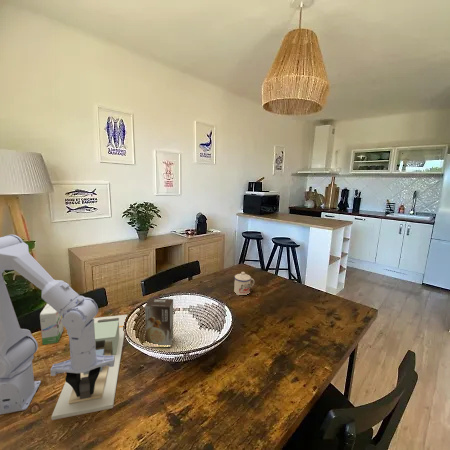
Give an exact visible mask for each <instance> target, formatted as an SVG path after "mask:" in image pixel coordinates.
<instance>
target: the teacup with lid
mask: <svg viewBox="0 0 450 450" xmlns="http://www.w3.org/2000/svg"><path fill="white" fill-rule="evenodd" d="M254 284H255V280H254V278H252V276H250V274H248V273H246V272H245V271H241V273H237V274H235V275H234V287H233V288H234V289H233V292H235V293H236V294H235V293H234V294H235V295H237V296H239V295H247V294H249V293H250V294H251V288H253V286H254ZM250 294H249V295H250ZM247 296H248V295H247Z"/></svg>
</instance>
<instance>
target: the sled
mask: <svg viewBox="0 0 450 450" xmlns="http://www.w3.org/2000/svg"><path fill="white" fill-rule="evenodd" d="M95 347H96V350H100V349H104V355H105V356H111V353H112V349H113V348H112V342H107V343H105V340H102V341H96V344H95ZM108 367H109V366H103V369H102V372H99V375H98V378H97V380H96V382H95V389H94V393H93V394H91V395H90V383H89V379H88V374H83V373H81V381H80V384H79V390H80V397H77V396H76V393H75V391H74V389H73V390H72V393H71V396H70V398H69V401H68V404H69V403H74V402H80V401H85V400H90V399H96V398H101V397H102V396H103V391H104V386H105V381H106V377H107V372H108Z"/></svg>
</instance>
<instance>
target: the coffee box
mask: <svg viewBox="0 0 450 450" xmlns="http://www.w3.org/2000/svg"><path fill="white" fill-rule="evenodd" d="M144 318H145V319H144V323H145V326H144V328H145V342H146V341H147V342H149V343H153V344H158V345H171V343H172V344H173V342H172V339H173V336H174V298H155V297H152V298H151V297H150V298H149V299H148V300H147V302H146V303H145V305H144ZM173 340H174V339H173ZM171 346H172V345H171Z"/></svg>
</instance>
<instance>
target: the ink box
mask: <svg viewBox="0 0 450 450" xmlns="http://www.w3.org/2000/svg"><path fill="white" fill-rule="evenodd" d="M63 318H64V317H62V316H61V315H60V314H59V313H58V312H57V311H56V310H55V309H53V308H52V307H51V306H50V305H49V304H48V303H46V304H45V306H44V307H43V309H42V310H41V312H40V313H39V320H40V329H41V330H40V331H41V332H40V333H41V342H42V345H51V344H56V343H59V341H60V339H61V337H62V334H63V332H64V326H63V324H62V321H61V319H63Z"/></svg>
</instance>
